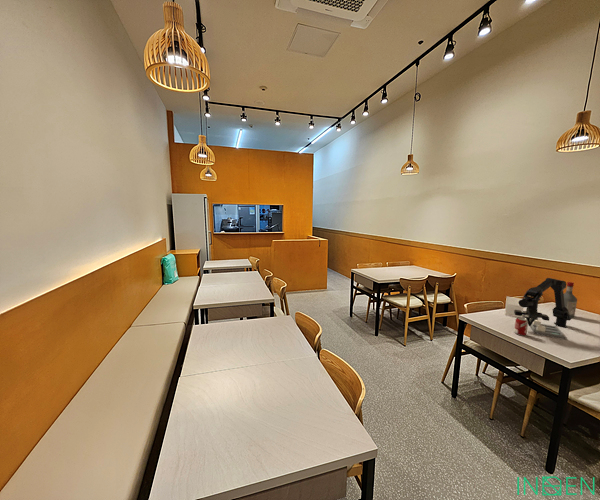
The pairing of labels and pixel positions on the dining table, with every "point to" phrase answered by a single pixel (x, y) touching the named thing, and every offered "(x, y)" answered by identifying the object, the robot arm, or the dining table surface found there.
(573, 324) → the dining table surface
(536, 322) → the tab
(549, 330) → the gray shelf unit
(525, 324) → the soda can
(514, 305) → the storage container
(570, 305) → the liquor
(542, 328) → the tab
